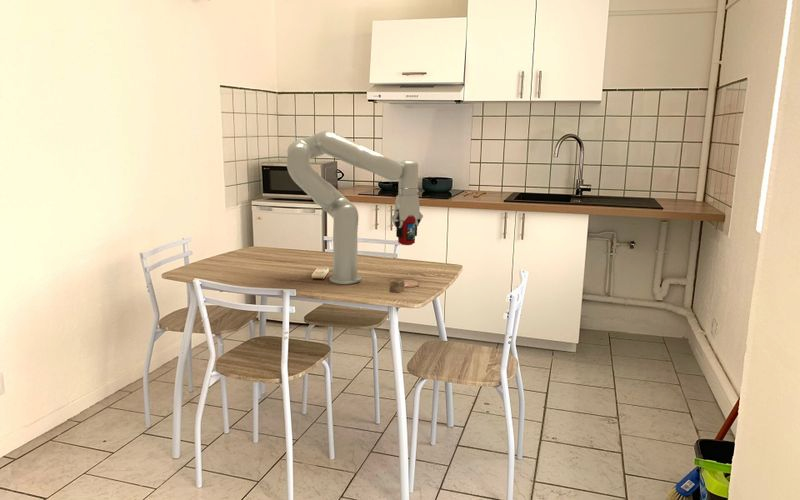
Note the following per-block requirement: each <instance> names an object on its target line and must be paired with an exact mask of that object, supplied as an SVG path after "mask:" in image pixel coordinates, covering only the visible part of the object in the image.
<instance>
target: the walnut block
mask: <svg viewBox="0 0 800 500" xmlns="http://www.w3.org/2000/svg"><path fill="white" fill-rule="evenodd" d="M404 291H405V288H404V280H403V279H398V278H397V279H396V278H395V279H391V280H390V281H389V292H391V293H396V294H400V293H402V292H404Z"/></svg>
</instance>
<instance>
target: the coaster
mask: <svg viewBox="0 0 800 500" xmlns="http://www.w3.org/2000/svg"><path fill="white" fill-rule="evenodd" d="M402 280H404V289H405V288H406V289H407V288H408V289H409V288H415V287H418V286H419V282H418V281H417V280H413V279H402Z"/></svg>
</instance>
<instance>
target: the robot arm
mask: <svg viewBox="0 0 800 500" xmlns="http://www.w3.org/2000/svg"><path fill="white" fill-rule="evenodd" d="M325 154H326V155H328V156H330V157H332V158H335V159H337V160H339V161H342V162H344V163H346V164H349V165H351V166H353V167H355V168H359V169H362V170H365V171H367V172H370V173H373V174H375V175H378V176H380V177H382V178H384V179H386V180H389V181H397V180H398V193H397V194H398V195H396V198H395V201H394V209H393V215H392V216H391V217H390V221H391V222H392V223H393V225H394V227H395V229H396V231H395V232H396V233H395V234H396V238H398V237H399V238H402V237H403V228H401V227H402V225H403V221H405V220H406V218H407V217H408V216H411V215H414V217H415V219H416V222H415V237H418V236H417V235H418V226H419V224H420V223H421V221H422V219H423V218H424V215H423V214H422V212H420V199H419V195H418V193H419V192H420V189H419V188H418V186H419V182H418V180H419V162H417V161H415V160H394V159H391V158H389V157H387V156H384V155H383V154H380V153H378V152H376V151H374V150H371V149H370V148H368V147H366V146H365V145H363V144H360V143H358V142H355V141H353V140H351V139H349V138H347V137H344V136H342V135H339V134H338V133H335V132H332V131H329V130H323V131H319V132H318V133H315V134H312V135H309V136H306V137H304V138H300V139H299V140H298V139H297V140H294V141H292V142H291V143H289V146H288V147H287V156H286V168H287V172H288V174H289V176H290V178H291V180H292V181H293V182H294V184H296V185H297V186H298V187H299V188H300V189H301V190H302V191H303V192H304V193H305V194H306V195H307V196H308V197H310V198H311V199H312V200H313V202H314V203H315V205H318V206H319V207H320V208H321V209H323V211H324V212H326V213H327V214H328V215H329V216H330V217H331V218H332V220H333V226H332V227H333V229H332V230H333V232H332V245H333V249H332V250H333V251H332V252H333V257H332V258H333V261H332V263H333V264H332V265H333V266H332V268H330V269H329V272H331V273H332V275H331V276H330V277H329V282H331V284H332V283H333V284H337V285H338V284H339V285H353V284H357V283H360V282H361V281H362V277H361V276H360V275H358V244H359V243H358V229H359V211H358V209H357V206H356V205H355V204H354V203H353V202H351V201H350V200H349V199H348V198H347V197H346V196H344V195H343V194H342V193H341V192H340V191H339V190H338V189H337V188H336V187H335V186H333V184H332V183H330V182H328V181H327V180H325V179H324V178H323V177H322V176H321V175H320V174H319V173H318V172H317V171H316V170H315V169H314V168H313V167H312V166H311V163H310V160H312V159H314V158H317V157H320V156H323V155H325ZM399 219H400V220H399ZM399 222H400V224H399Z"/></svg>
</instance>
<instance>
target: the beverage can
mask: <svg viewBox="0 0 800 500" xmlns="http://www.w3.org/2000/svg"><path fill="white" fill-rule="evenodd" d="M399 220H400V219H399ZM415 222H416V219H415V217H414V215H411V216H408V217H407V218H406V220H405V221H403V225H402V227H401V228H403V237H402V238H399V237H397V238H398V240H397V242H398V243H399V244H400V245H401V246H412V245H413V244H415V243H416V242H415V241H416V236H415ZM399 224H400V222H399Z"/></svg>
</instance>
